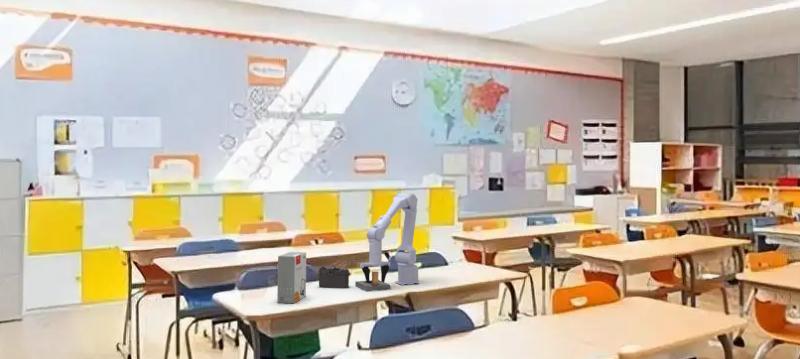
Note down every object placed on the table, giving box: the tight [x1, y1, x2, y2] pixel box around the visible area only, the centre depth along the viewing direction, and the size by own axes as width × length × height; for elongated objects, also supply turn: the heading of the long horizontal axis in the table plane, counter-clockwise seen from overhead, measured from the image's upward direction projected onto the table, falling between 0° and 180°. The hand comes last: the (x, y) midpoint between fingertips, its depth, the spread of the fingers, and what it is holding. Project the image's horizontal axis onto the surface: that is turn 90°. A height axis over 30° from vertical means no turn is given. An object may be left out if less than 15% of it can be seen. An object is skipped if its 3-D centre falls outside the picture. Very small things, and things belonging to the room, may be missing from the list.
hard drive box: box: [276, 251, 307, 304], centre depth 296 cm, size 16×8×20 cm, turn 168°
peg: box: [371, 271, 379, 286], centre depth 321 cm, size 3×3×8 cm
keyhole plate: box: [354, 279, 391, 292], centre depth 324 cm, size 12×14×2 cm
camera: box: [318, 265, 350, 290], centre depth 328 cm, size 14×11×10 cm
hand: (375, 282), depth 321 cm, fingers open, 7 cm apart
